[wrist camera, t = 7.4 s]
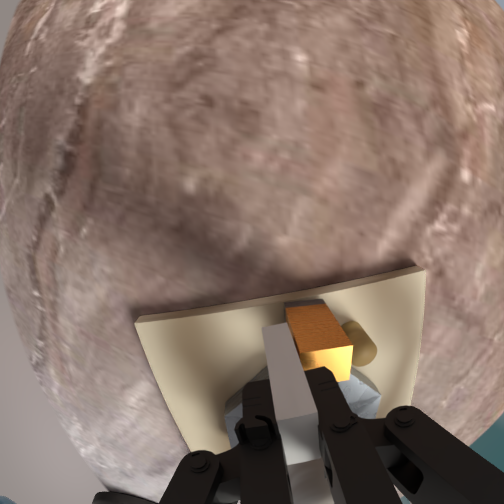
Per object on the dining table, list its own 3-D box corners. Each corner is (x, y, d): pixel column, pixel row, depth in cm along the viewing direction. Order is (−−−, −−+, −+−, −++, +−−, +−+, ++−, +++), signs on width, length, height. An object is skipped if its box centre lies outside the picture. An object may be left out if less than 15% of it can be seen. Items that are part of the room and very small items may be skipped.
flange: (359, 444, 21) (376, 488, 15) (237, 460, 21) (236, 510, 15) (386, 290, 17) (432, 328, 12) (210, 307, 17) (196, 360, 12)
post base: (210, 475, 23) (204, 552, 14) (139, 315, 19) (73, 410, 9) (395, 440, 23) (429, 506, 13) (417, 265, 18) (514, 321, 9)
